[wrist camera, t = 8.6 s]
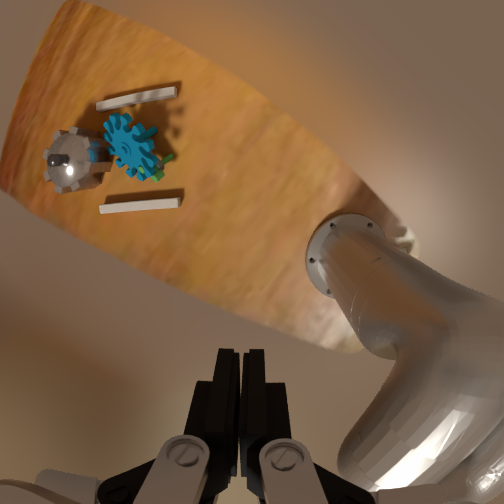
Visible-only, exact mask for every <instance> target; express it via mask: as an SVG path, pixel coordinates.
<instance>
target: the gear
mask: <svg viewBox="0 0 504 504" xmlns="http://www.w3.org/2000/svg"><path fill="white" fill-rule="evenodd" d="M109 118H110V119H109V120H108V121H106V122H105V123H104V124H103V125H104V127H105V129H107V131H106V132H105V133H104V134H103V139H104V140H105V141H107V142H109V143H110V144H111V145H110V146H109V147H107V149H108V152H109V154H110V155H112V154H115V155H117V156H119V157H120V158H118V159H117V160H116V161H115V162H116V164H117V166H118V167H119V168H121V167H122V166H124V165H125V164H127V165H128V166H129V169H127V170H126V173H127V174H128V175H129V176H130V177H131V178H132V177H133V176H134V175H135V174H136V169H137V171H138V173H137V175H136V176H137V178H138V179H139V180H141V181H144V180H145V179H146V178H147V177H151V176H152V180H153V181H154V182H158V181H159V180H160V179H161V178H163V177H164V175H165V174H164V172H163V170H164V165H165V164H166V163H167V162H168V161H170V160H171V159H172V158H173V157H174V156H173V154H171V153H170V154H169V155H168V156H166V157H165V158H164V159H162V160H161V161H160V160H159V158H158V157H157V156H156V155H155V154H154V153H153V152H152V149H154V142H153V140H152V139H148V138H149V137H151V136H152V135H154V134H155V133H157V128H156V127H155V126H153V127H151V128H150V129H148V130H147V131H145V129H144V127H143V125H142V124H141V123H138V124H136V125H135V126H133V129H132V130H131V129H130V128H129V127H128V123H130V122H131V121H132V117H131V116H130V115H129V114H127V113H125V114H123V115H122V116H120V114H119V113H113V114H112V115H110V116H109ZM120 121H121V125H120ZM143 132H144V133H143ZM140 134H141V135H140ZM146 139H148V140H146ZM153 174H154V175H153Z"/></svg>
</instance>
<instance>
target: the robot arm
mask: <svg viewBox="0 0 504 504" xmlns="http://www.w3.org/2000/svg"><path fill="white" fill-rule="evenodd" d="M331 223H333V225H332V226H330V224H331ZM368 223H369V225H368V226H367V224H368ZM310 258H313V259H312V260H309V259H310ZM305 263H306V270H307V273H308V276H309V278H310V280H311V282H312V283H313V285H314V286H315V287H316V288H317V289H318V290H319V291H320V292H321V293H322V294H324V295H326V296H328V297H331V298H334V299H336V301H337V303H338V304H339V306H340V308H341V309H342V311H343V313H344V314H345V316H346V318H347V320H348V321H349V323H350V325H351V326H352V328H353V330H354V331H355V333H356V335H357V337H358V338H359V340H360V341H361V343H362V344H363V346H364V347H365V348H366V349H367V350H369V352H371V353H372V354H374V355H376V356H378V357H380V358H384V359H389V360H396V362H395V364H394V367H393V369H392V370H391V372H390V374H389V376H388V377H387V379H386V380H385V382H384V383H383V385H382V387H381V389H380V391H379V392H378V394H377V395H376V396H375V398H374V399H373V401H372V402H371V403H370V405H369V406H368V408H367V409H366V410H365V412H364V413H363V414H362V416H361V417H360V418H359V420H358V421H357V422H356V423H355V425H354V426H353V427H352V429H351V430H350V431H349V433H348V434H347V436H346V437H345V439H344V440H343V442H342V444H341V446H340V449H339V451H338V456H337V470H338V473H339V476H340V477H339V476H337V475H335V474H333V473H331V472H329V471H328V470H326V469H324V468H322V467H320V466H319V465H317V464H315V463H313V462H312V459H311V456H310V453H309V451H308V450H307V448H306V447H305V446H304V445H303V444H302V443H300V442H298V441H296V440H293V439H292V437H291V429H290V420H289V412H288V404H287V395H286V387H285V383H265V361H264V349H250V351H249V353H244V356H243V374H242V389H241V394H240V359H239V353H234V349H223V348H219V351H218V355H217V361H216V365H215V371H214V376H213V381H197V383H196V387H195V390H194V395H193V399H192V402H191V406H190V411H189V414H188V418H187V422H186V426H185V430H184V434H183V435H179V436H175V437H172V438H170V439H169V440H168V441H166V442H165V443H164V445H163V446H162V448H161V450H160V452H159V454H158V456H157V458H155V459H153V460H151V461H149V462H147V463H145V464H143V465H140V466H138V467H136V468H133V469H131V470H129V471H126V472H124V473H121V474H119V475H116V476H114V477H111V478H109V479H107V480H105V481H103V480H98V479H97V478H95V477H88V476H82V475H76V474H70V473H65V472H61V471H57V470H52V469H46V470H43V471H41V472H40V473H39V474H38V475H37V477H36V479H35V483H34V484H32V483H28V482H24V481H20V480H13V479H2V480H0V504H216V503H217V500H218V495H219V493H220V492H222V491H223V490H225V489H226V488H227V487H228V483H230V479H231V476H234V477H236V475H237V460H238V443H239V444H240V463H241V476H242V477H247V489H249V490H250V491H251V492H252V493H254V494H255V495H256V496H257V499H258V504H485V503H487V502H488V501H490V500H492V499H493V498H495V497H496V496H498V495H499V494H500V493H502V492H503V491H504V302H502V301H500V300H498V299H496V298H493V297H491V296H488V295H486V294H483V293H481V292H478V291H476V290H473V289H471V288H468V287H466V286H463V285H461V284H459V283H457V282H455V281H453V280H451V279H449V278H447V277H445V276H443V275H442V274H440V273H438V272H437V271H435V270H433V269H432V268H430V267H429V266H427V265H425V264H424V263H422V262H421V261H419V260H417V259H416V258H414V257H412V256H411V255H409V254H408V253H407V249H406V248H398V247H396V246H394V245H393V244H391V243H389V242H387V239H386V237H385V234H384V232H383V231H382V229H381V228H380V227H379V226H378V225H377V224H376V223H375V222H374V221H373V220H371V219H369V218H368V217H365V216H363V215H359V214H354V213H346V214H341V215H337V216H335V217H332V218H330V219H329V220H327V221H326V222H324V223H323V224H322V225H321V226H320V227H319V228H318V229H317V230H316V231H315V233H314V234H313V235H312V237H311V239H310V241H309V243H308V246H307V250H306V257H305ZM328 289H329V290H328Z"/></svg>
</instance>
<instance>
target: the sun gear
mask: <svg viewBox="0 0 504 504" xmlns="http://www.w3.org/2000/svg"><path fill="white" fill-rule="evenodd" d="M99 133H100V132H99V131H95V130H90V129H84V128H79V127H73V126H71V127H70V130H69V131H65V130H58V131H57V132H56V133H55V134H54V135H53V139H54V142H53V144H52V145H51V147H50V149H45V151H44V155H43V159H46V160H47V170H46V171H45V172H44V173H43V174H44V177H45V180H46V182H49V181H53V183H55V184H56V185H55V190H54V191H55V192H57V193H60V194H63V193H69V192H75V191H80V190H86V189H92V188H96V187H97V186H99V185H100V184H101V180H100V178H99V177H100V176H101V175H102V174H103V172H110V169H111V165H112V162H109V161H107V151H108V149H107V147H109V146H110V143H109V142H107V141H105V140H104V139H100V138H98V137H99Z"/></svg>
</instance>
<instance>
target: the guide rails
mask: <svg viewBox="0 0 504 504" xmlns="http://www.w3.org/2000/svg"><path fill="white" fill-rule="evenodd" d="M175 97H177V89H176V87H175V86H174V87H167V88H161V89H155V90H150V91H145V92H140V93H135V94H130V95H126V96H121V97H117V98H113V99H109V100H105V101H101V102H98V103H96V111H100V112H103V111H107V110H111V109H115V108H120V107H124V106H129V105H134V104H139V103H144V102H150V101H156V100H162V99H168V98H175ZM180 206H181V202H180V197H176V198H163V199H151V200H139V201H129V202H119V203H110V204H103V205H99V208H100V214H103V213H114V212H124V211H136V210H149V209H162V208H177V207H180Z"/></svg>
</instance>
